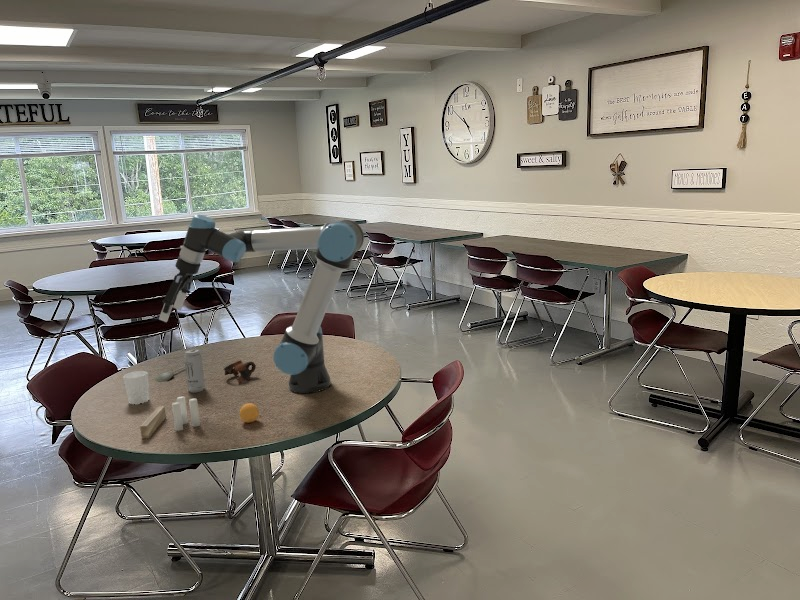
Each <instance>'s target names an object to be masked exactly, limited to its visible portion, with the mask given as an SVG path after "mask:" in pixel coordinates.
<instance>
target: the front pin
mask: <svg viewBox="0 0 800 600" xmlns="http://www.w3.org/2000/svg"><path fill="white" fill-rule="evenodd" d="M188 404H189V413H190V421H191V426H192V427H193V428H194V427H199V426H200V425H201V420H200V413H199V404H198V399H197V398H195V397H194V398H189V400H188Z"/></svg>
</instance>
